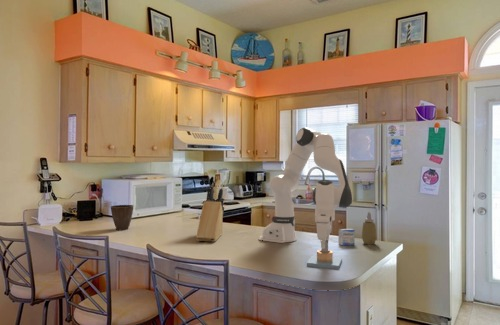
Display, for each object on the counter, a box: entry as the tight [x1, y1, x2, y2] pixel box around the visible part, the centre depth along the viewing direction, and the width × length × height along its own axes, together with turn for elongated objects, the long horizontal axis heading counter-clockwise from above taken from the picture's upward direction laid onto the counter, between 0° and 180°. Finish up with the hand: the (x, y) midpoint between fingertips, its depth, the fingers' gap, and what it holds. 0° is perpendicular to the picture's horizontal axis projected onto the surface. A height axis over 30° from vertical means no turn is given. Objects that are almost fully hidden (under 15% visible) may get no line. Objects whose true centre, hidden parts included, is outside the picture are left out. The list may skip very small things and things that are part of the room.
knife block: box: [195, 185, 225, 243], centre depth 231 cm, size 11×35×31 cm, turn 174°
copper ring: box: [316, 249, 334, 262], centre depth 171 cm, size 7×7×4 cm
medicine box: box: [338, 228, 356, 246], centre depth 210 cm, size 8×4×9 cm, turn 105°
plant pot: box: [110, 204, 135, 231], centre depth 255 cm, size 15×15×16 cm
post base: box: [306, 242, 343, 270], centre depth 171 cm, size 14×14×10 cm
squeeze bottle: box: [361, 211, 377, 246], centre depth 212 cm, size 8×8×18 cm
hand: (324, 245), depth 171 cm, fingers open, 8 cm apart
